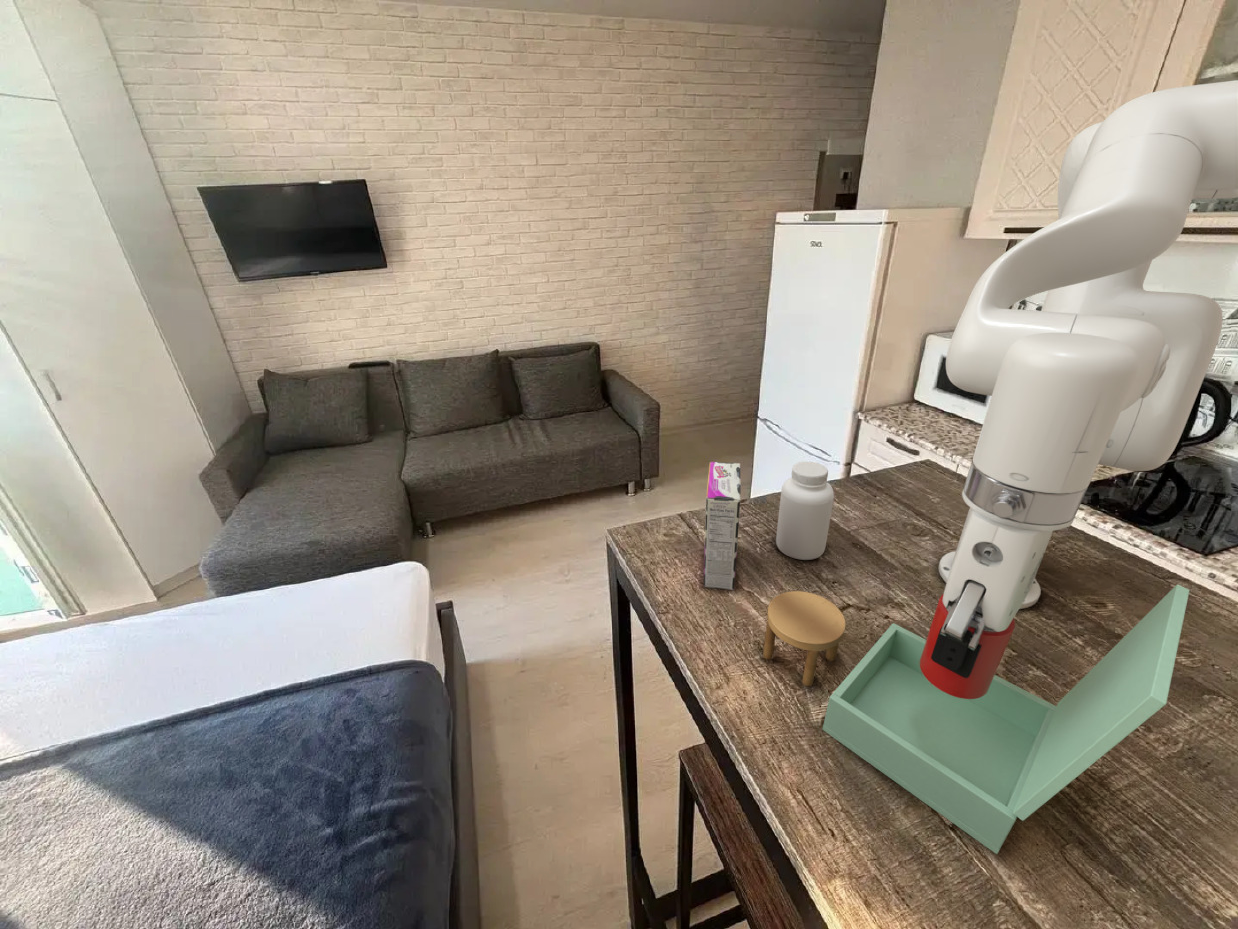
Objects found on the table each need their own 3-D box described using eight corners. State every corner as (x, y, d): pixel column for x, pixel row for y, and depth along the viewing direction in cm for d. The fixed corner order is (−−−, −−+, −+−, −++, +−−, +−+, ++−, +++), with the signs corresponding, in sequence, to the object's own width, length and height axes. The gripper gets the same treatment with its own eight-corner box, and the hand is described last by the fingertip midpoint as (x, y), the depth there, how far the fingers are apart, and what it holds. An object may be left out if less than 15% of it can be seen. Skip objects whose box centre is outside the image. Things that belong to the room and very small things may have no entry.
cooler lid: (1150, 695, 33) (1166, 704, 32) (1177, 583, 42) (1190, 589, 41) (1012, 813, 43) (1022, 821, 42) (1057, 702, 52) (1067, 708, 51)
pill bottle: (768, 535, 89) (776, 459, 83) (812, 531, 90) (824, 455, 83) (785, 563, 82) (796, 482, 76) (833, 559, 83) (848, 478, 76)
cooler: (822, 729, 56) (829, 697, 54) (884, 653, 65) (893, 622, 63) (996, 855, 45) (1015, 820, 43) (1043, 742, 54) (1060, 708, 52)
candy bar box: (705, 545, 87) (709, 460, 80) (734, 548, 86) (741, 462, 79) (701, 588, 78) (705, 496, 70) (734, 592, 77) (742, 498, 69)
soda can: (932, 641, 55) (952, 579, 51) (997, 674, 51) (1024, 610, 47) (909, 673, 52) (929, 610, 48) (976, 711, 48) (1004, 645, 44)
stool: (787, 620, 71) (793, 581, 68) (849, 657, 65) (859, 616, 62) (748, 655, 66) (753, 614, 63) (812, 699, 60) (821, 656, 57)
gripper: (1049, 558, 34) (975, 730, 42) (1102, 468, 44) (1033, 622, 52) (928, 515, 39) (884, 676, 47) (1000, 443, 49) (952, 587, 57)
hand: (963, 646), depth 50 cm, fingers closed on soda can, 6 cm apart
